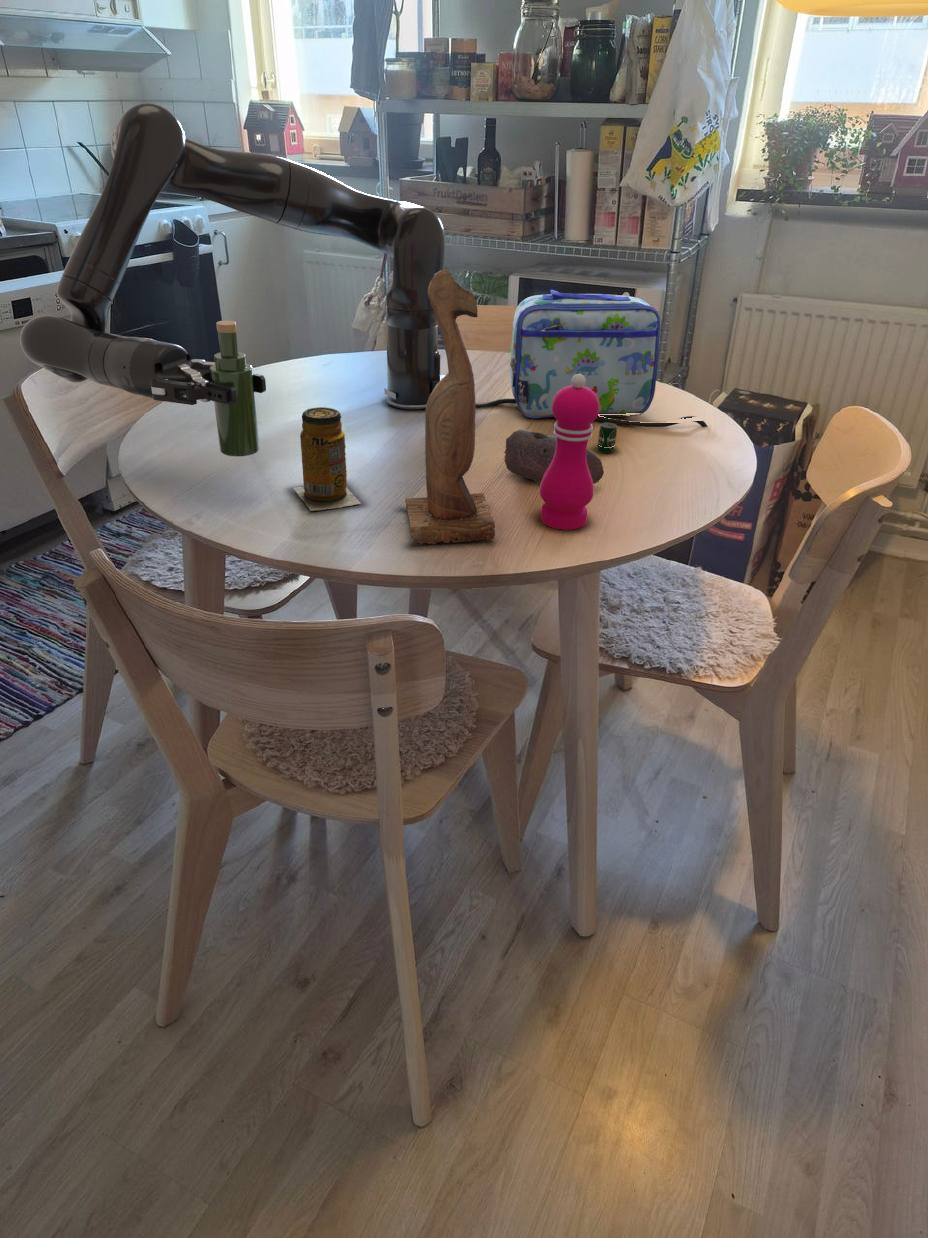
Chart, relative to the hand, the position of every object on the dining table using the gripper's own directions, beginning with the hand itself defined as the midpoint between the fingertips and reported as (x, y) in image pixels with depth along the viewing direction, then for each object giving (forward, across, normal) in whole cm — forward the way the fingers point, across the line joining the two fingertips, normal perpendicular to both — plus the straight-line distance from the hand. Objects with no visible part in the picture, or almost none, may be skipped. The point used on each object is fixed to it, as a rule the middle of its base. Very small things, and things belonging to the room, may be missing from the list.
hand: (249, 390), depth 105 cm
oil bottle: (-3, 0, +8) cm, 9 cm away
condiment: (+6, +7, +16) cm, 19 cm away
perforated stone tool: (+32, +29, +16) cm, 46 cm away
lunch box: (+24, +61, +16) cm, 68 cm away
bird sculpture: (+26, +7, +16) cm, 31 cm away
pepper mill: (+38, +17, +16) cm, 45 cm away
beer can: (+35, +46, +16) cm, 60 cm away
